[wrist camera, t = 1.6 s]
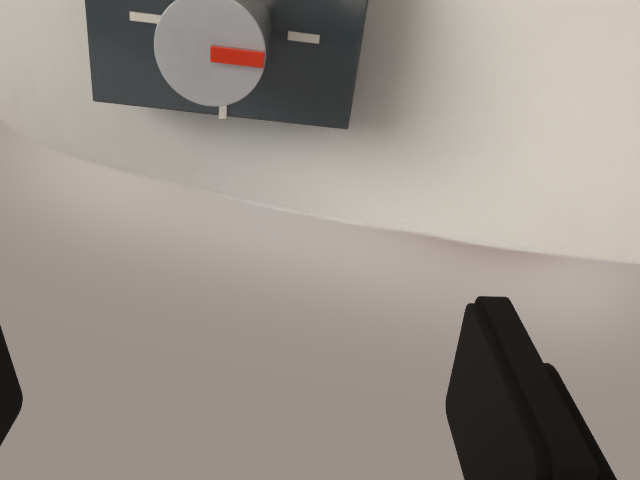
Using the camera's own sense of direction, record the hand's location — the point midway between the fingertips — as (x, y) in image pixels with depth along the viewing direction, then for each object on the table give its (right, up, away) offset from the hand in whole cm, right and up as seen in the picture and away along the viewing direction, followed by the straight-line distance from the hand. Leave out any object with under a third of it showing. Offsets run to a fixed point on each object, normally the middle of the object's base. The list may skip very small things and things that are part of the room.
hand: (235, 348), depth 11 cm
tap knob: (-2, +11, +13) cm, 17 cm away
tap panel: (-2, +13, +16) cm, 20 cm away
